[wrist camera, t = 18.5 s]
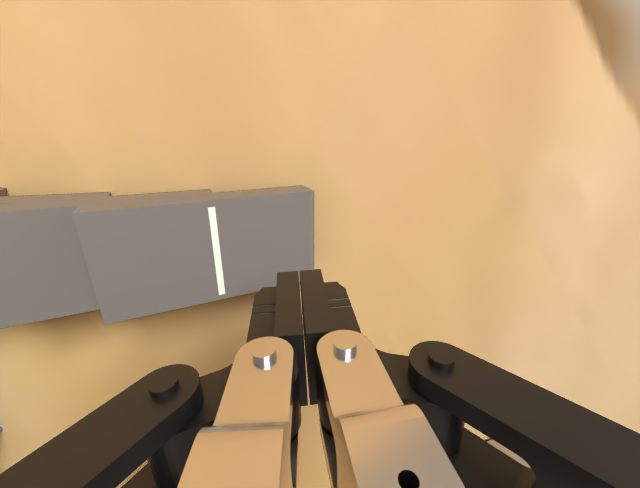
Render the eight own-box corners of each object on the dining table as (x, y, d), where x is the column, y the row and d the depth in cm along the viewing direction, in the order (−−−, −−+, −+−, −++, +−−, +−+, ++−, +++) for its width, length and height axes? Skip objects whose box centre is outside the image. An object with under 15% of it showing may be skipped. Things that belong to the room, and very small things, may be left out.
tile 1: (314, 279, 18) (104, 325, 14) (302, 267, 19) (109, 306, 15) (314, 191, 16) (71, 213, 12) (301, 185, 17) (80, 203, 13)
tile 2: (224, 285, 17) (-22, 333, 13) (219, 273, 19) (-4, 312, 15) (214, 195, 15) (-74, 218, 11) (209, 188, 17) (-48, 207, 13)
